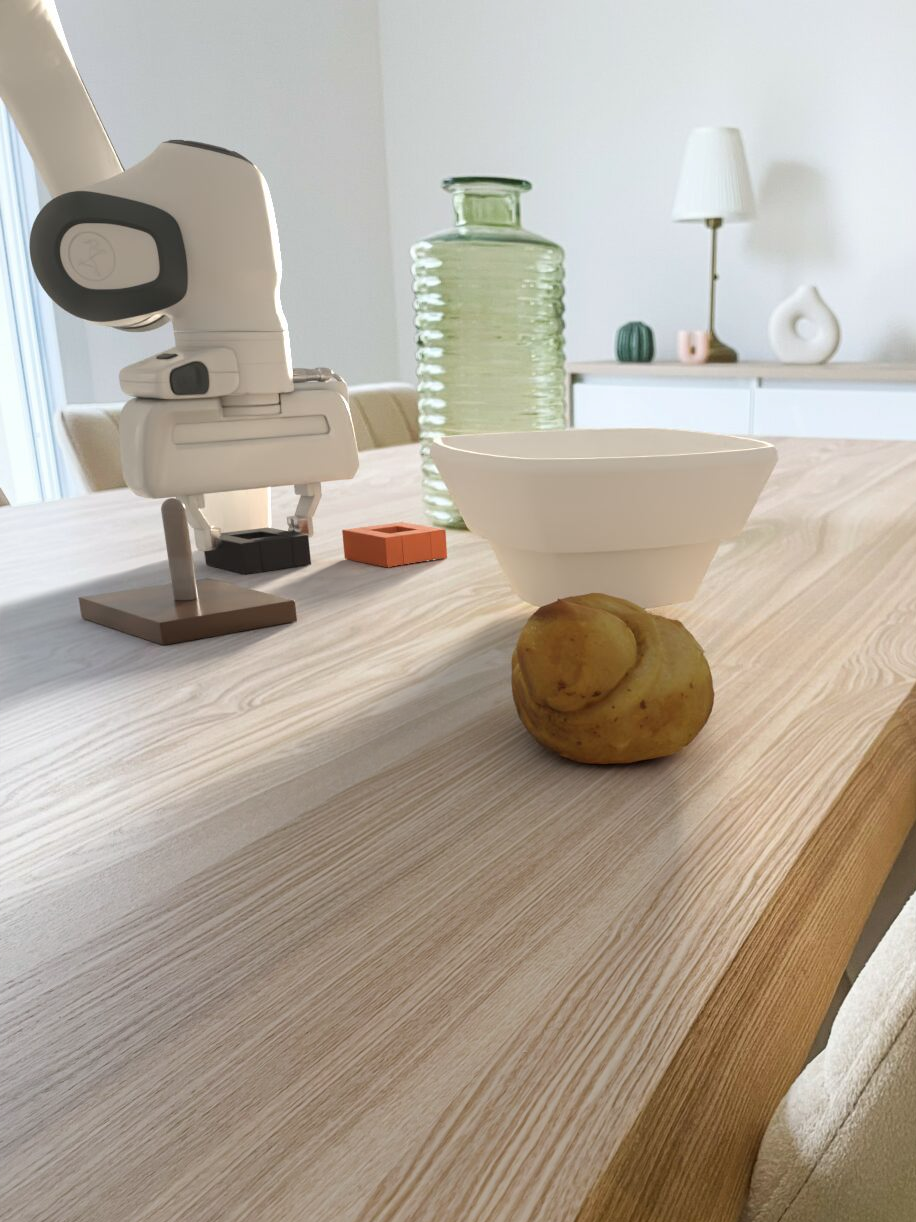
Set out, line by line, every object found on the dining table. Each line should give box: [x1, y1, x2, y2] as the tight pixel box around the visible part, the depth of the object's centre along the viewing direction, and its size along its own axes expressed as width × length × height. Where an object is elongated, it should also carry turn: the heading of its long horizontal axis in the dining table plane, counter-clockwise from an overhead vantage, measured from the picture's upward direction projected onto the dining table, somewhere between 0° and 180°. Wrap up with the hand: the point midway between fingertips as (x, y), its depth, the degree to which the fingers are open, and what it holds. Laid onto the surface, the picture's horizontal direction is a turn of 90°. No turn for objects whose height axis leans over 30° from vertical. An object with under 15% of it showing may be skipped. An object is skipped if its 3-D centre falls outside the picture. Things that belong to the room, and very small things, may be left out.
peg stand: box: [78, 497, 298, 646], centre depth 90 cm, size 12×10×8 cm
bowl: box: [429, 427, 779, 610], centre depth 93 cm, size 22×22×12 cm
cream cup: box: [199, 487, 272, 533], centre depth 119 cm, size 7×7×7 cm
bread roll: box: [510, 593, 715, 765], centre depth 64 cm, size 13×10×8 cm
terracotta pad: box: [341, 521, 448, 568], centre depth 114 cm, size 6×6×2 cm
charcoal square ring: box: [203, 527, 312, 575], centre depth 111 cm, size 6×6×2 cm
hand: (256, 543), depth 111 cm, fingers open, 7 cm apart
